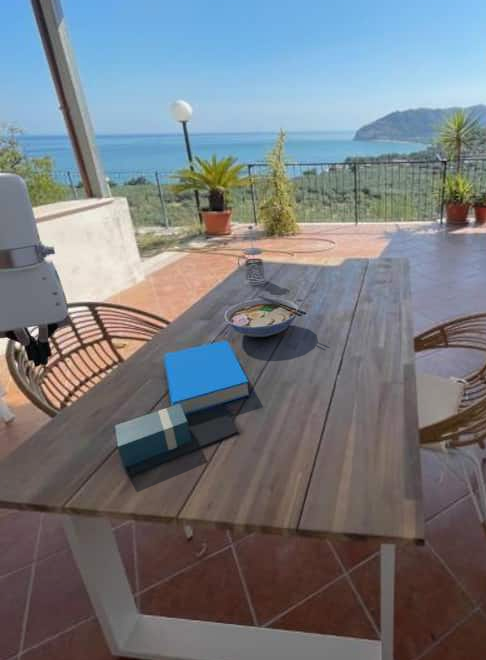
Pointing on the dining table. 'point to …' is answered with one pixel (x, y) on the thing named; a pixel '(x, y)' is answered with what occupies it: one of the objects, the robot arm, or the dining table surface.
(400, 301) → the dining table surface
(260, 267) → the french press
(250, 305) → the ramen bowl
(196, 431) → the mat
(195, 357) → the book
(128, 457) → the carton
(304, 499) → the dining table surface
